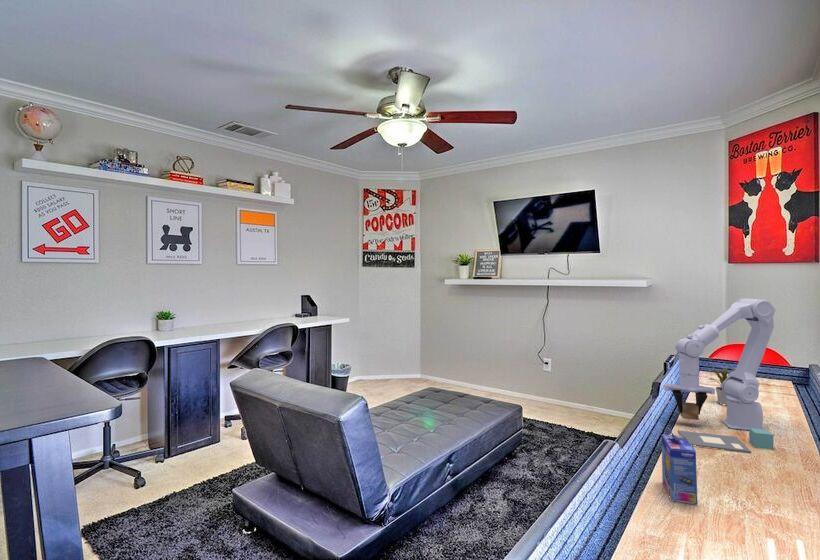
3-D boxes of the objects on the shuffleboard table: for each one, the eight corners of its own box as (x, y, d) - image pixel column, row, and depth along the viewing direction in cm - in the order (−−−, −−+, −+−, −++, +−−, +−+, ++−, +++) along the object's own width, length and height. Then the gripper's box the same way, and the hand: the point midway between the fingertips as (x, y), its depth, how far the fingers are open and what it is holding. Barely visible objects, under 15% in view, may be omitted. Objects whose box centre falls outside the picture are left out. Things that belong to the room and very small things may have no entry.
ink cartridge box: (660, 481, 107) (660, 423, 107) (685, 485, 105) (686, 426, 105) (669, 501, 98) (670, 438, 98) (698, 505, 96) (698, 441, 96)
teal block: (767, 444, 132) (767, 429, 131) (773, 449, 127) (773, 434, 127) (749, 442, 133) (749, 427, 133) (754, 447, 129) (754, 432, 129)
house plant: (706, 407, 168) (706, 365, 168) (698, 398, 181) (698, 359, 181) (751, 411, 163) (751, 368, 163) (739, 401, 176) (739, 362, 176)
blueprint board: (736, 438, 136) (736, 436, 136) (751, 453, 125) (751, 451, 125) (677, 432, 141) (677, 430, 141) (686, 445, 130) (686, 443, 130)
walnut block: (695, 416, 149) (695, 403, 149) (698, 420, 145) (698, 406, 145) (680, 414, 151) (680, 401, 151) (683, 418, 147) (683, 405, 147)
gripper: (667, 374, 147) (667, 414, 147) (717, 377, 142) (717, 418, 142) (663, 370, 153) (663, 408, 153) (711, 373, 148) (711, 412, 148)
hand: (689, 413), depth 148 cm, fingers closed on walnut block, 4 cm apart
